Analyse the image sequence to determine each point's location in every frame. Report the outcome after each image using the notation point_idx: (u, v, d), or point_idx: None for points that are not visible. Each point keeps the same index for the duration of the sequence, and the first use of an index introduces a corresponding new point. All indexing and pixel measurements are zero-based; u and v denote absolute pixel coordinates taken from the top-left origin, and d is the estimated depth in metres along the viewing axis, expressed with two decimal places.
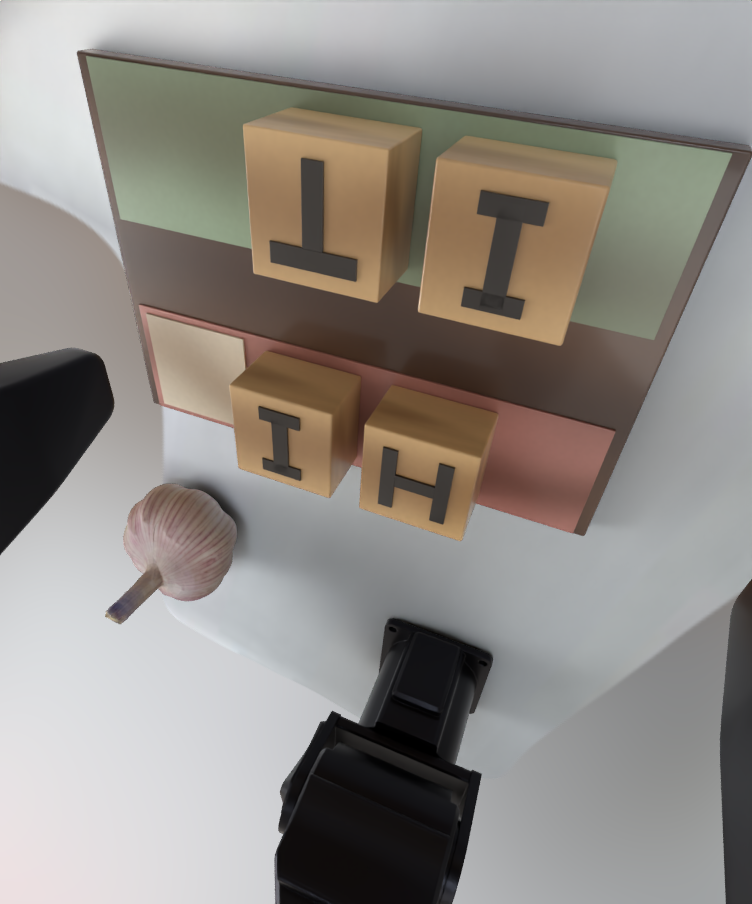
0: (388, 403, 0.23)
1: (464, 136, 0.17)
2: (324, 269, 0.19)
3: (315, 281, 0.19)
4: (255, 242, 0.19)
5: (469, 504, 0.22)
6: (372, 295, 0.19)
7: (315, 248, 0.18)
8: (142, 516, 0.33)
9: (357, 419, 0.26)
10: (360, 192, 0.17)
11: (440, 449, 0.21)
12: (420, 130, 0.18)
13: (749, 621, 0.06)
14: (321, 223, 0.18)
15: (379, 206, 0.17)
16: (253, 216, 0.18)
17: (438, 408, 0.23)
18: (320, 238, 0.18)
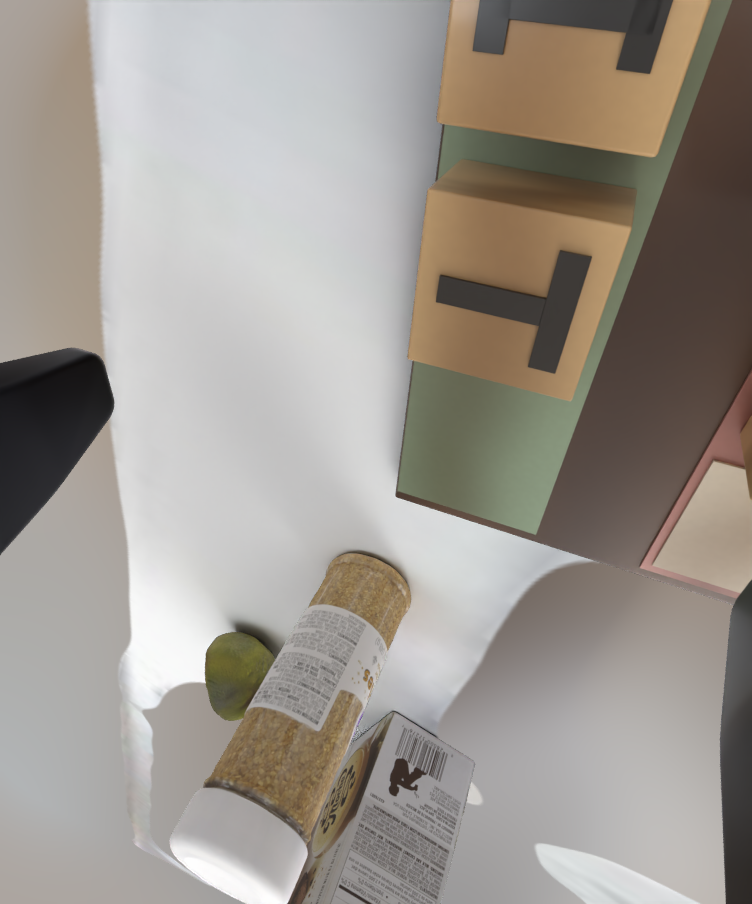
0: None
1: None
2: (570, 301, 0.14)
3: (588, 319, 0.14)
4: (530, 385, 0.15)
5: None
6: (618, 233, 0.12)
7: (541, 308, 0.14)
8: None
9: None
10: (474, 232, 0.13)
11: None
12: (460, 160, 0.15)
13: (749, 621, 0.06)
14: (507, 292, 0.14)
15: (492, 208, 0.13)
16: (498, 377, 0.15)
17: None
18: (526, 297, 0.14)
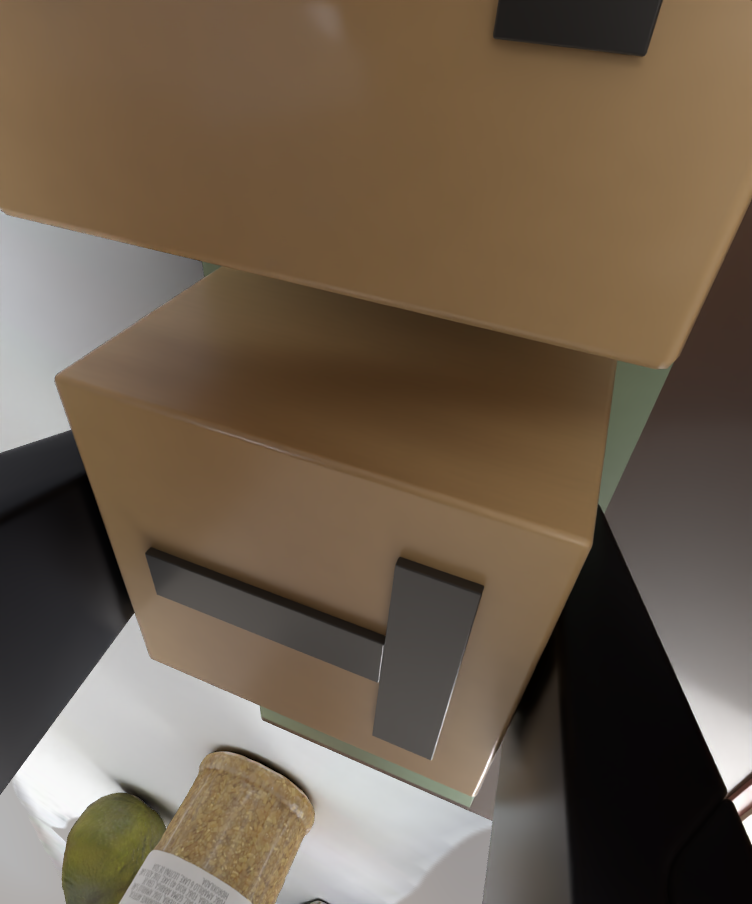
0: None
1: None
2: (441, 660, 0.05)
3: (493, 695, 0.05)
4: (386, 755, 0.07)
5: None
6: (551, 552, 0.04)
7: (380, 651, 0.06)
8: None
9: None
10: (188, 482, 0.05)
11: None
12: None
13: None
14: (294, 613, 0.06)
15: (209, 440, 0.05)
16: (322, 727, 0.07)
17: None
18: (338, 631, 0.06)
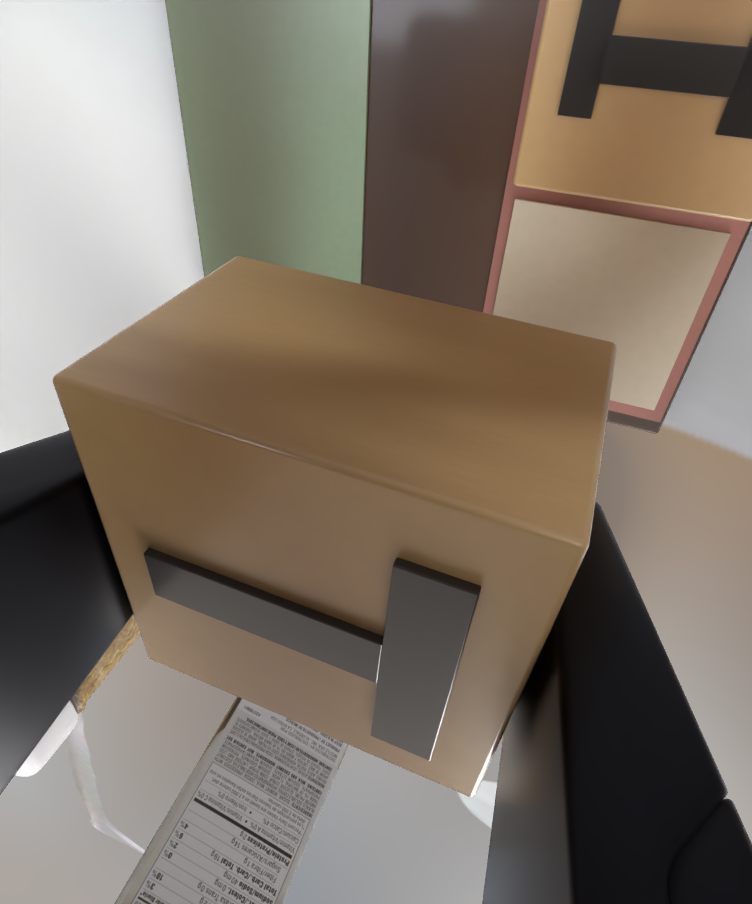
0: None
1: None
2: (438, 660, 0.05)
3: (490, 694, 0.05)
4: (385, 755, 0.07)
5: None
6: (548, 552, 0.04)
7: (378, 651, 0.06)
8: None
9: None
10: (185, 482, 0.05)
11: None
12: (230, 260, 0.07)
13: None
14: (293, 613, 0.06)
15: (206, 441, 0.05)
16: (320, 727, 0.07)
17: None
18: (336, 630, 0.06)
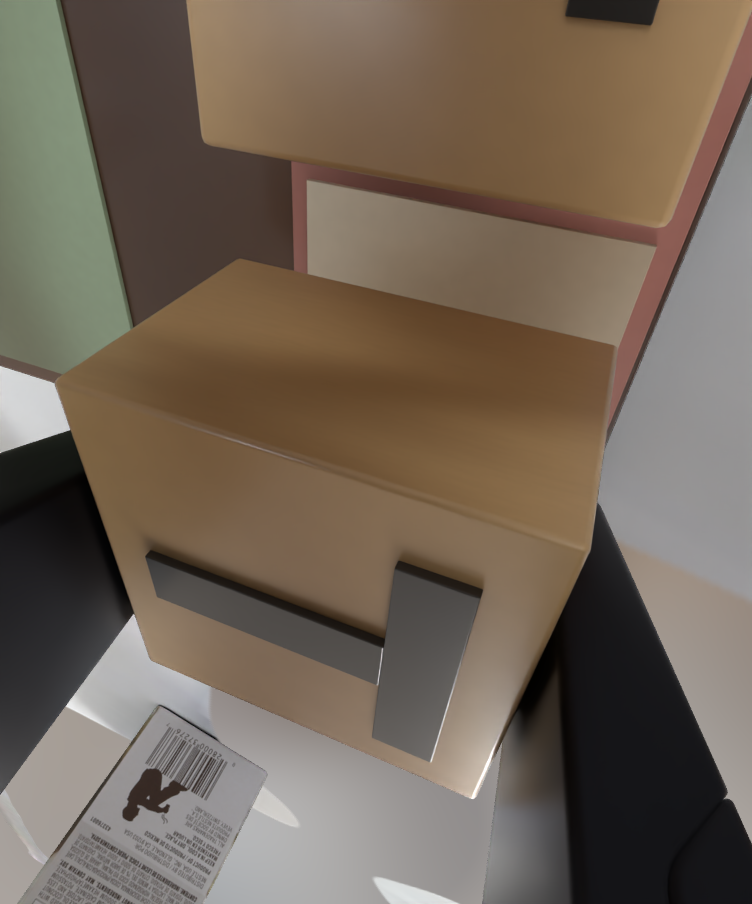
0: None
1: None
2: (440, 662, 0.05)
3: (493, 698, 0.05)
4: (386, 757, 0.07)
5: None
6: (550, 556, 0.04)
7: (380, 652, 0.06)
8: None
9: None
10: (188, 487, 0.05)
11: None
12: (231, 263, 0.07)
13: None
14: (295, 617, 0.06)
15: (209, 444, 0.05)
16: (322, 728, 0.07)
17: None
18: (338, 635, 0.06)
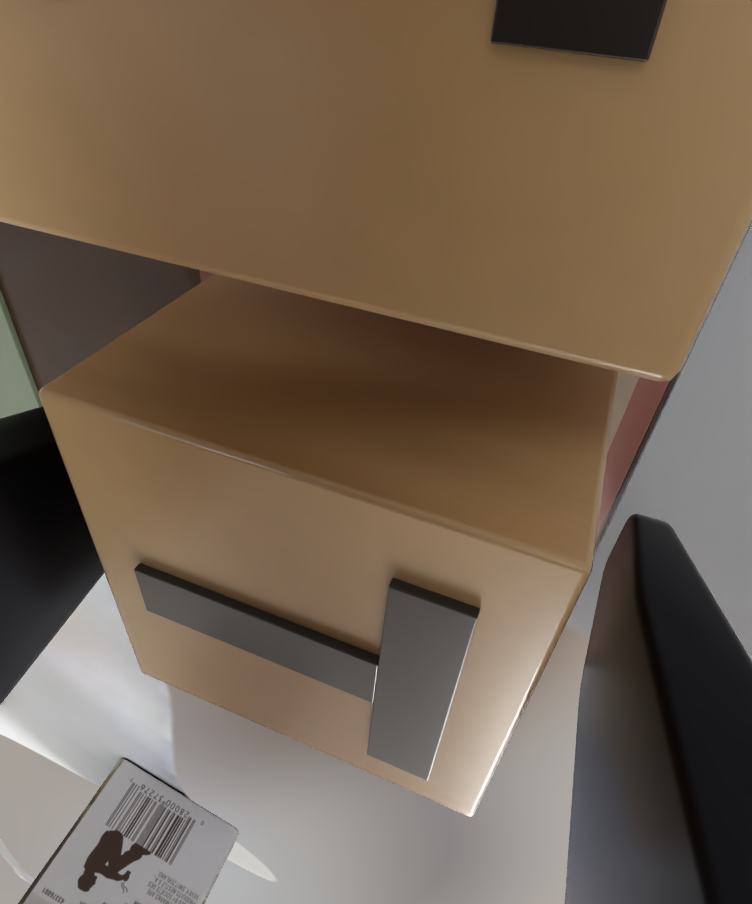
0: None
1: None
2: (436, 681, 0.05)
3: (491, 718, 0.05)
4: (382, 774, 0.07)
5: None
6: (550, 576, 0.04)
7: (374, 670, 0.05)
8: None
9: None
10: (176, 499, 0.05)
11: None
12: None
13: (610, 576, 0.07)
14: (288, 632, 0.05)
15: (197, 457, 0.05)
16: (316, 744, 0.07)
17: None
18: (331, 651, 0.05)
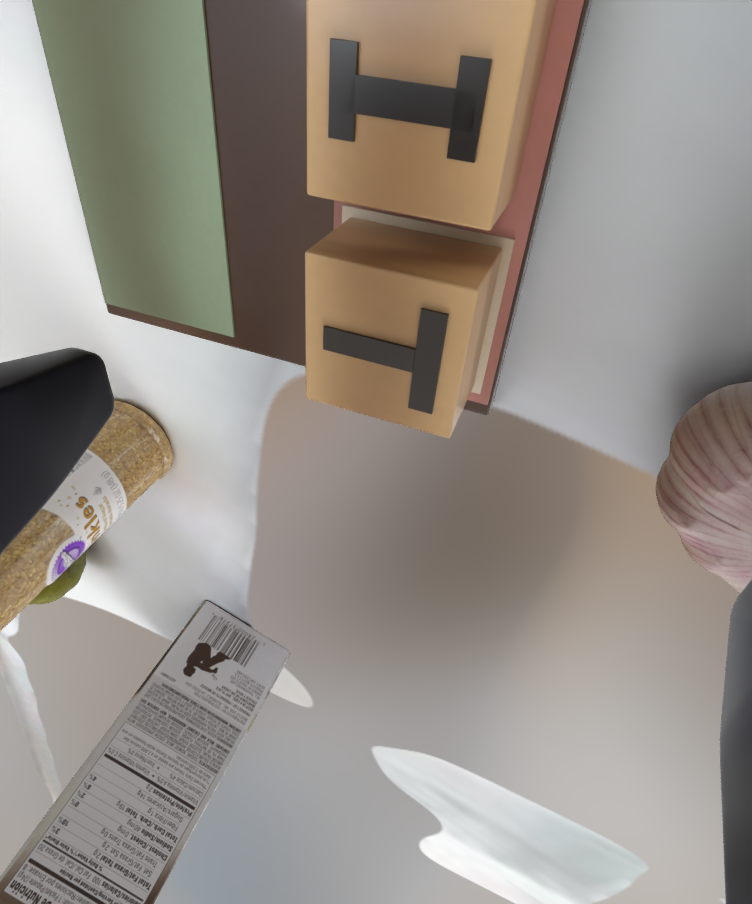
0: None
1: None
2: (435, 352, 0.15)
3: (454, 368, 0.15)
4: (413, 423, 0.17)
5: None
6: (467, 295, 0.14)
7: (413, 357, 0.15)
8: (680, 525, 0.16)
9: None
10: (348, 290, 0.15)
11: None
12: (348, 219, 0.17)
13: (749, 621, 0.06)
14: (382, 343, 0.15)
15: (360, 270, 0.15)
16: (385, 415, 0.17)
17: None
18: (399, 347, 0.15)
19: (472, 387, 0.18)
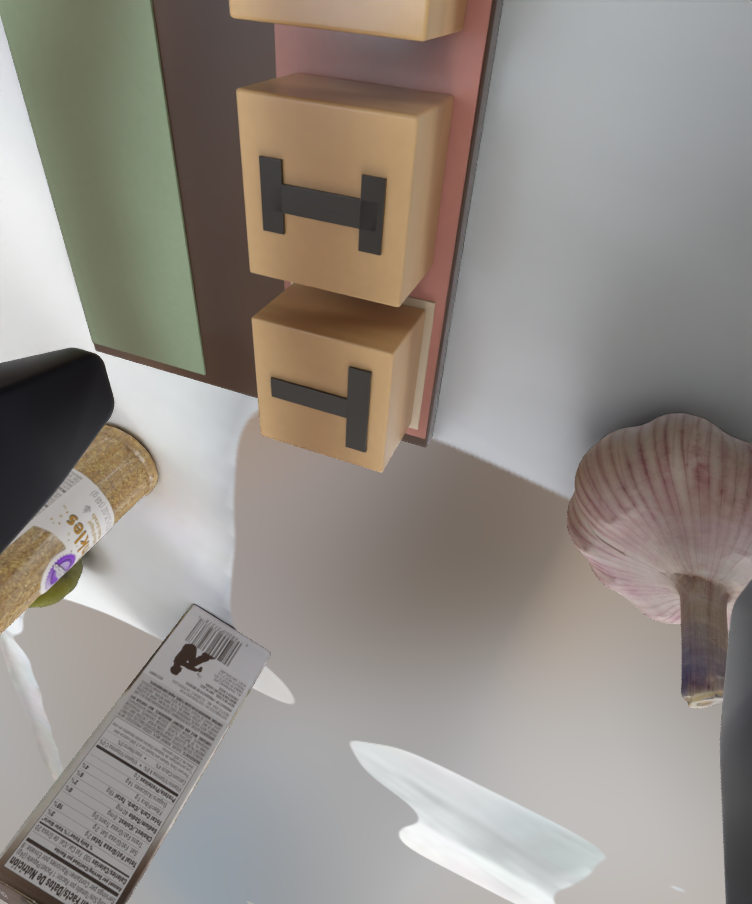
0: None
1: None
2: (363, 402, 0.18)
3: (380, 415, 0.18)
4: (351, 459, 0.19)
5: None
6: (385, 357, 0.16)
7: (346, 405, 0.18)
8: (581, 549, 0.19)
9: (365, 83, 0.15)
10: (289, 349, 0.18)
11: None
12: None
13: (749, 621, 0.06)
14: (320, 393, 0.18)
15: (297, 333, 0.17)
16: (327, 452, 0.20)
17: None
18: (333, 397, 0.18)
19: (409, 424, 0.21)
